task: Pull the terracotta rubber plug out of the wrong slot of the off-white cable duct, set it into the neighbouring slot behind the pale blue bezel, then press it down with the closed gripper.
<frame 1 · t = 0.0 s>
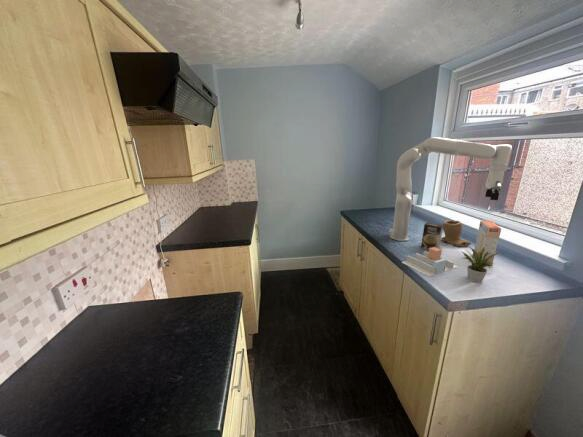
hand: (491, 198, 133), 31 cm above the countertop, tool pointing down, fingers open, 9 cm apart
house plant: (476, 280, 108), on the countertop
stone cup: (452, 243, 150), on the countertop
plug: (433, 262, 122), point 1 cm above the countertop, touching cable duct
coffee box: (429, 249, 142), on the countertop
cable duct: (428, 265, 122), on the countertop
cracker box: (482, 260, 127), on the countertop
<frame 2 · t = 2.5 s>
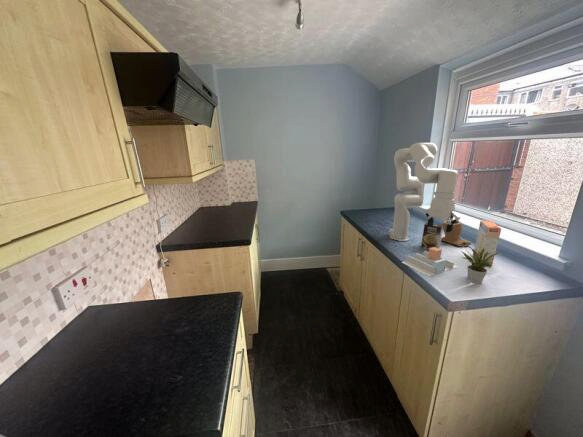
hand: (439, 229, 117), 20 cm above the countertop, tool pointing down, fingers open, 9 cm apart
nothing on the countertop moved.
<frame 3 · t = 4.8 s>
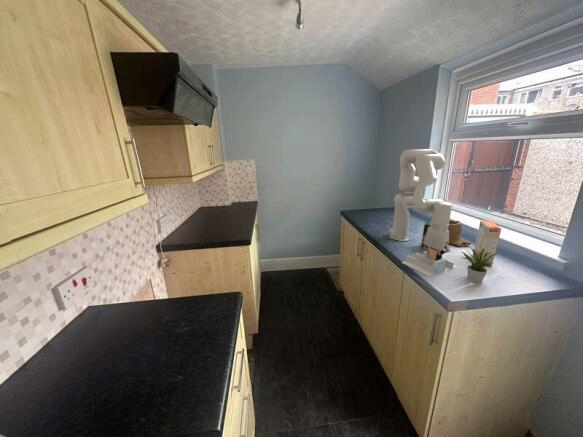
hand: (433, 258, 122), 3 cm above the countertop, tool pointing down, fingers closed on plug, 4 cm apart
plug: (433, 262, 122), point 1 cm above the countertop, touching cable duct, gripper
everything else where it was.
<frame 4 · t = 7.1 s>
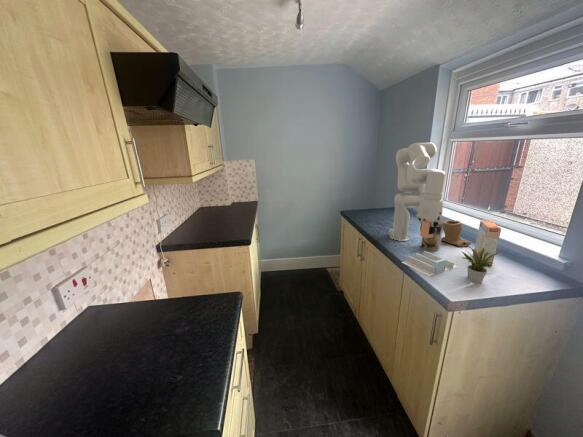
hand: (427, 232, 116), 19 cm above the countertop, tool pointing down, fingers closed on plug, 4 cm apart
plug: (426, 236, 117), point 17 cm above the countertop, touching gripper
everything else where it was.
when the fingers open (5 cm above the countertop, at t = 9.9 s): plug drops 1 cm, resting on cable duct.
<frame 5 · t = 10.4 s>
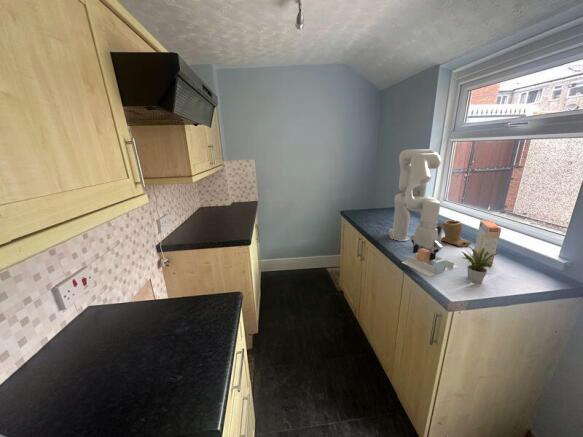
hand: (423, 256, 120), 6 cm above the countertop, tool pointing down, fingers open, 9 cm apart
plug: (422, 264, 121), point 1 cm above the countertop, touching cable duct
everything else where it was.
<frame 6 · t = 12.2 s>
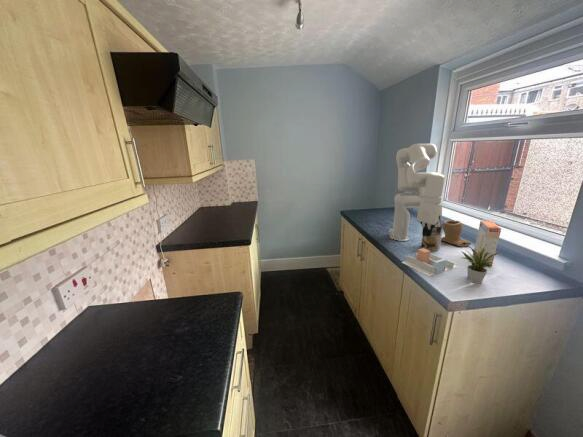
hand: (426, 235, 117), 17 cm above the countertop, tool pointing down, fingers closed
nothing on the countertop moved.
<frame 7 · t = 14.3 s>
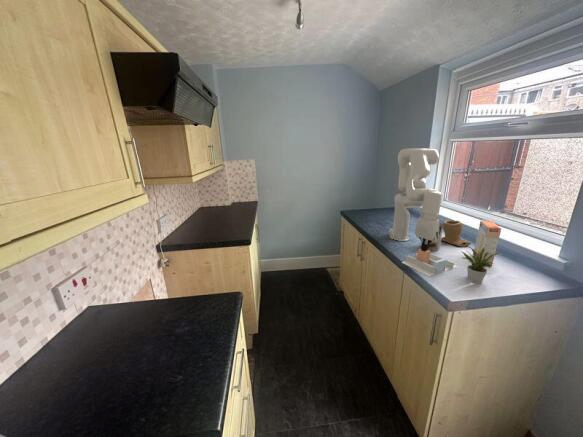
hand: (424, 250, 119), 9 cm above the countertop, tool pointing down, fingers closed
plug: (422, 264, 121), point 1 cm above the countertop, touching cable duct, gripper
everything else where it was.
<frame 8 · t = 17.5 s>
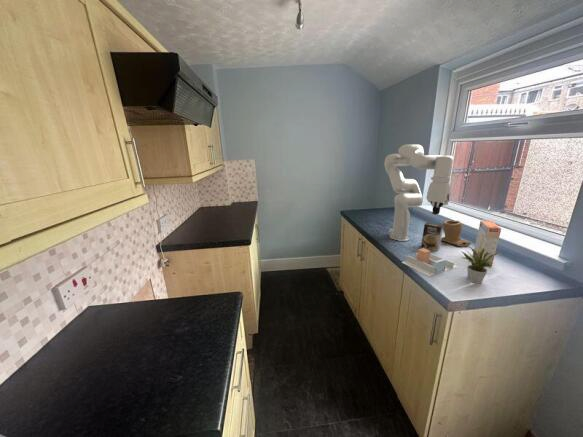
hand: (435, 213, 126), 25 cm above the countertop, tool pointing down, fingers closed
plug: (422, 264, 121), point 1 cm above the countertop, touching cable duct
everything else where it was.
at the end: plug inside the target area on the cable duct (1.0 cm from its centre), point 1.0 cm above the cable duct's base; plug tilted 0°; the gripper is holding nothing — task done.
